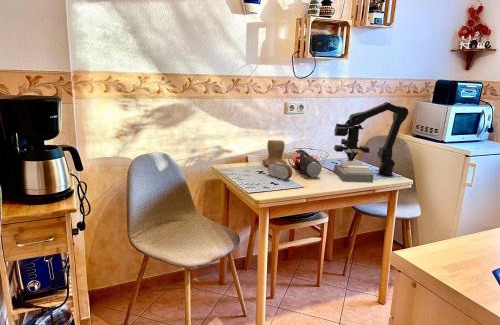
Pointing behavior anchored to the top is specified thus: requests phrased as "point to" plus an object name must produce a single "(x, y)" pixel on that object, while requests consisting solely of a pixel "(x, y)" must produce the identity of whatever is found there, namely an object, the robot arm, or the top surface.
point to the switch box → (352, 175)
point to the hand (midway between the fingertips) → (349, 163)
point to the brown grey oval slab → (279, 170)
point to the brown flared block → (275, 152)
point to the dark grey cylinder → (309, 164)
